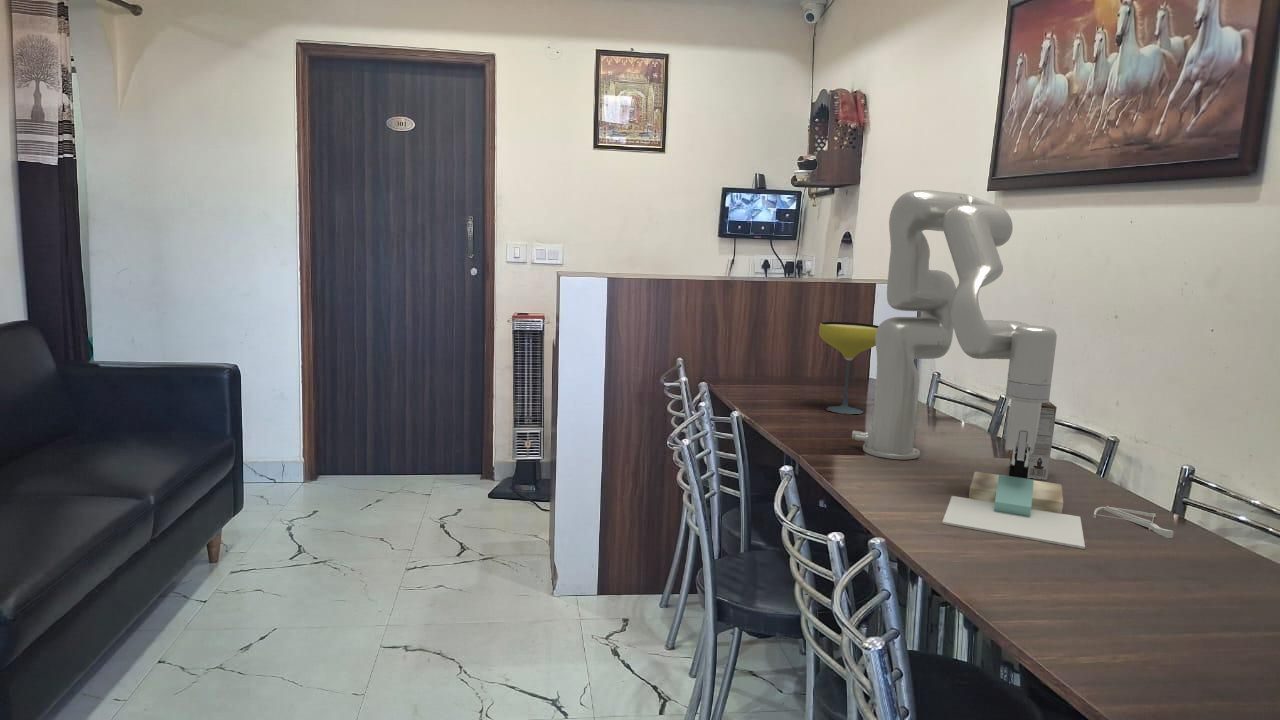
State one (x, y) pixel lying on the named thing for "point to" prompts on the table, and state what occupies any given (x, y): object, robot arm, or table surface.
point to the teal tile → (1014, 495)
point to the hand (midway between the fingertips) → (1016, 486)
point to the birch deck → (1042, 496)
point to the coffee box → (1041, 444)
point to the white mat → (1015, 522)
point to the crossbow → (1137, 519)
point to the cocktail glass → (848, 348)
